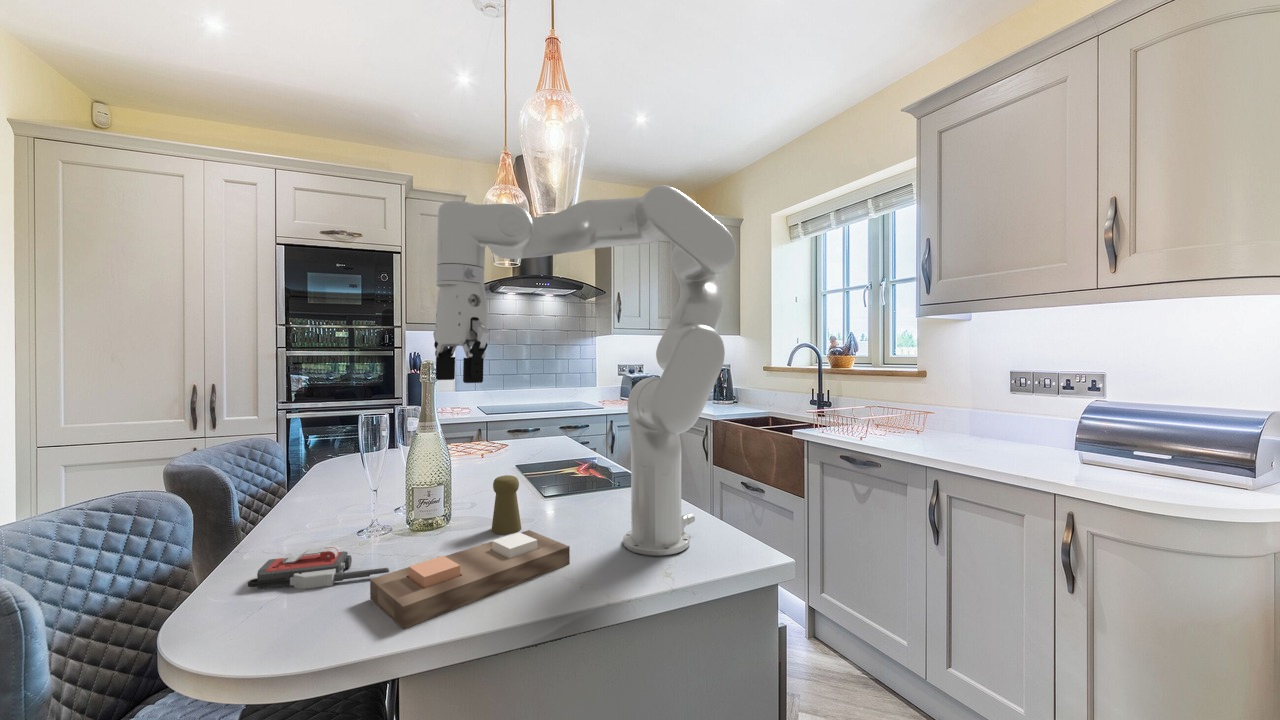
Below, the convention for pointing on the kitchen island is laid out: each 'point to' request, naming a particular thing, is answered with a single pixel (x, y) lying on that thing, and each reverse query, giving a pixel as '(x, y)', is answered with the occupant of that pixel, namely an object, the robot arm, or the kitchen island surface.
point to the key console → (464, 580)
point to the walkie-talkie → (309, 570)
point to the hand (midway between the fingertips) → (458, 381)
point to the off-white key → (514, 545)
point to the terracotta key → (433, 571)
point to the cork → (506, 506)
